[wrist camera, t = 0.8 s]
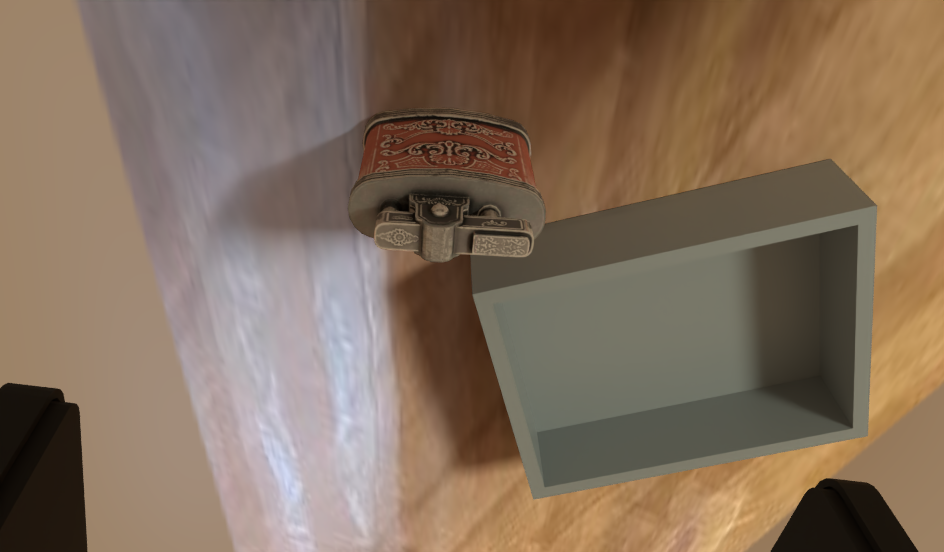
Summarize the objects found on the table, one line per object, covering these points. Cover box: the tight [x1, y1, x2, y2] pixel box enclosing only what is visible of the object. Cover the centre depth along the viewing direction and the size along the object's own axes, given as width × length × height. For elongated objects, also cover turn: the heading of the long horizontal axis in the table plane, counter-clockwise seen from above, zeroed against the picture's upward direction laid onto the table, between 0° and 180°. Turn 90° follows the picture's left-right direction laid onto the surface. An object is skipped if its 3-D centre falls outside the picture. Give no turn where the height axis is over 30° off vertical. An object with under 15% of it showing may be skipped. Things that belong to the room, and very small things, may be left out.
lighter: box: [348, 108, 546, 262], centre depth 34 cm, size 8×3×10 cm, turn 85°
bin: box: [470, 159, 877, 499], centre depth 42 cm, size 19×15×5 cm
